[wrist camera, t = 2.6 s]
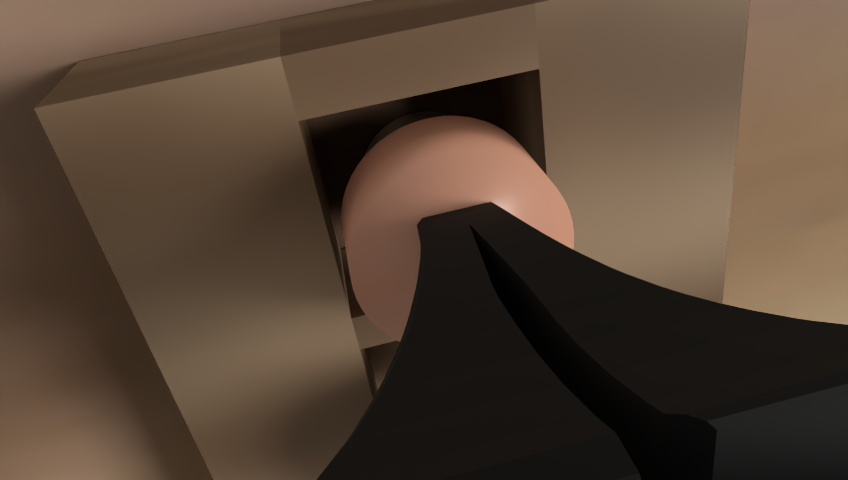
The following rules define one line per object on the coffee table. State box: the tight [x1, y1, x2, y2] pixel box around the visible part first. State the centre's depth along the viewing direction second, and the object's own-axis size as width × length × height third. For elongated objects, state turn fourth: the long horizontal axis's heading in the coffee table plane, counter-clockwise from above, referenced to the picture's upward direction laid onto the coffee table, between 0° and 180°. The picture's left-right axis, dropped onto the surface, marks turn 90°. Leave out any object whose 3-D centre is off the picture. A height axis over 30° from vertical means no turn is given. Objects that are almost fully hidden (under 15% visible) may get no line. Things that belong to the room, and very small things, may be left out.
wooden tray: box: [34, 0, 750, 480], centre depth 18 cm, size 18×13×3 cm
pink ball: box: [341, 111, 574, 342], centre depth 13 cm, size 4×4×4 cm
